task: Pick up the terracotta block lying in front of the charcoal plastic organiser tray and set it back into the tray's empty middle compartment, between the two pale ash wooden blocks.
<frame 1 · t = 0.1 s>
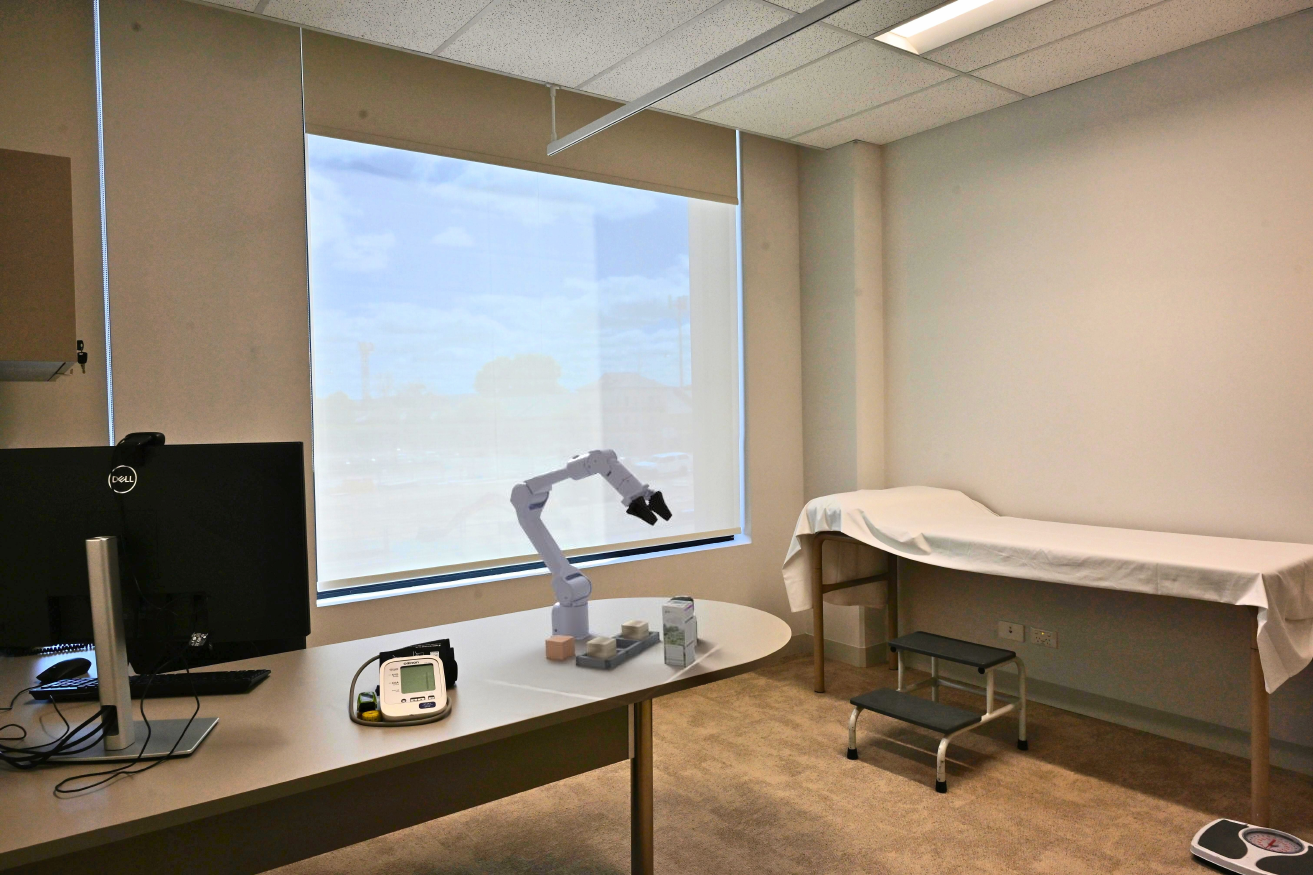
hand: (662, 520, 202), 32 cm above the table, tool tilted 50°, fingers open, 7 cm apart
terracotta block: (560, 658, 199), on the table
organiser tray: (619, 654, 200), on the table
medicine bottle: (683, 644, 206), on the table
ash block far: (635, 642, 207), point 1 cm above the table, touching organiser tray
ash block near: (602, 661, 193), point 1 cm above the table, touching organiser tray
syrup box: (679, 664, 191), on the table
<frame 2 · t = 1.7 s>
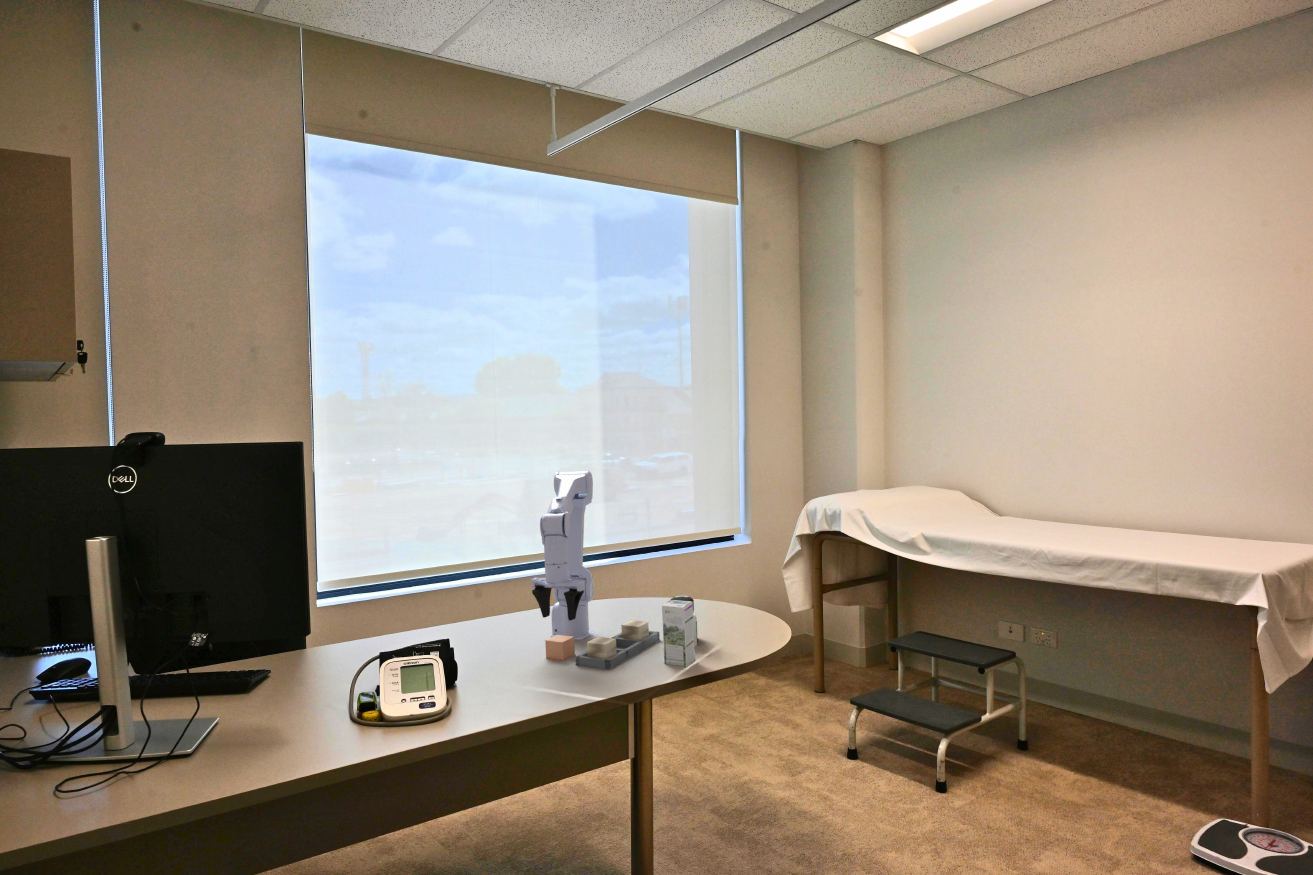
hand: (559, 617, 198), 10 cm above the table, tool pointing down, fingers open, 7 cm apart
nothing on the table moved.
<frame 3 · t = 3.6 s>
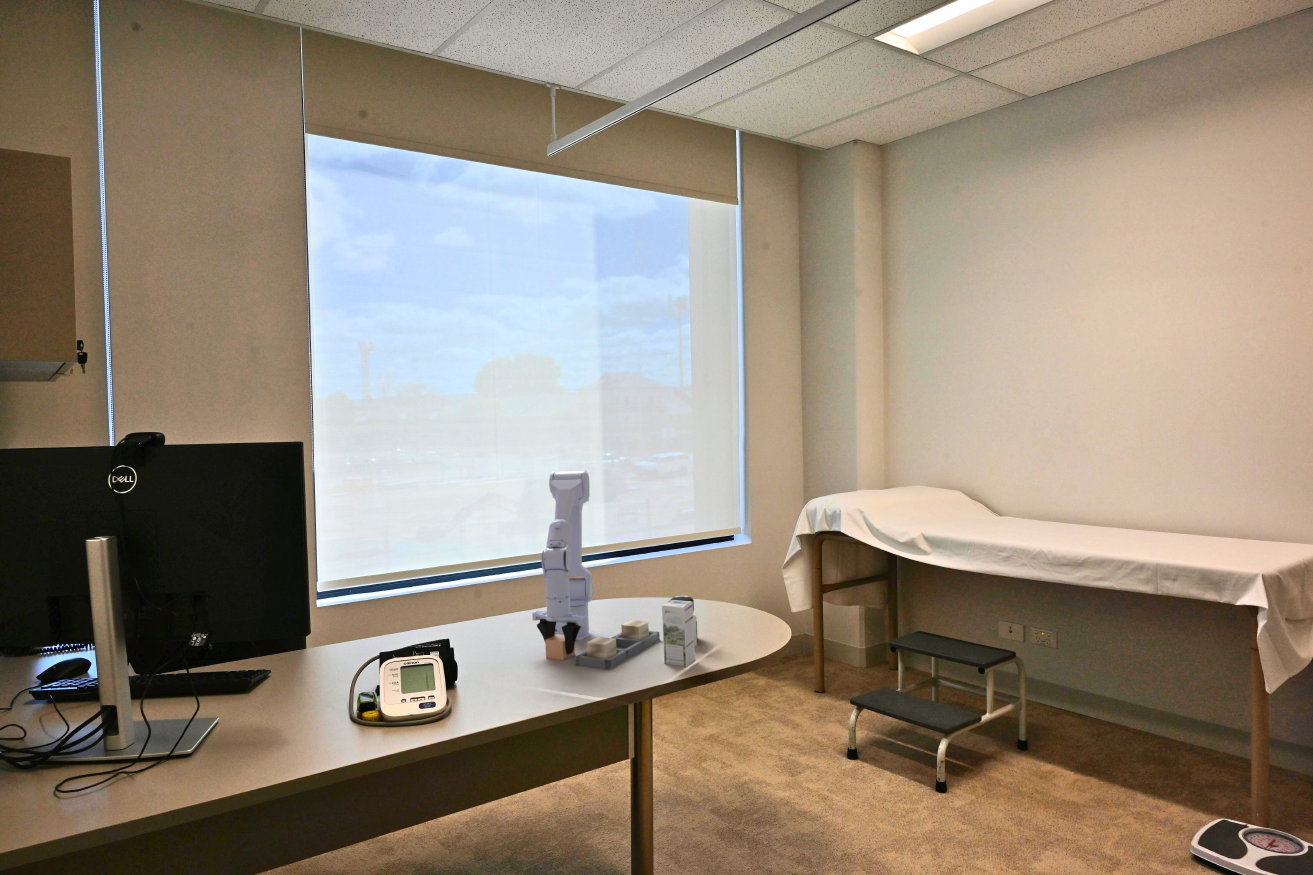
hand: (560, 651, 199), 2 cm above the table, tool pointing down, fingers closed on terracotta block, 5 cm apart
terracotta block: (560, 658, 199), on the table, touching gripper
everything else where it was.
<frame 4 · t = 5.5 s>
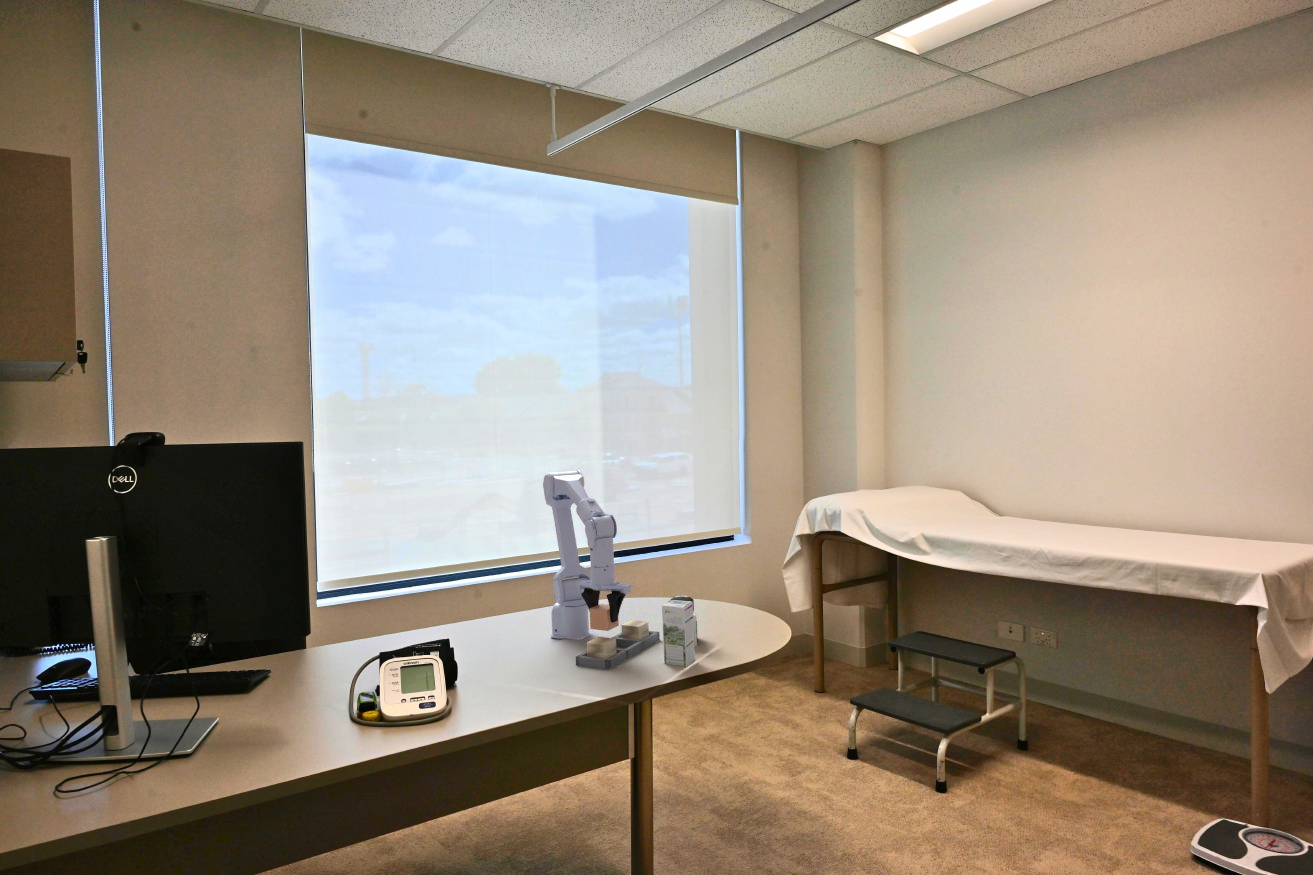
hand: (604, 620, 199), 9 cm above the table, tool pointing down, fingers closed on terracotta block, 5 cm apart
terracotta block: (604, 627, 199), point 7 cm above the table, touching gripper
everything else where it was.
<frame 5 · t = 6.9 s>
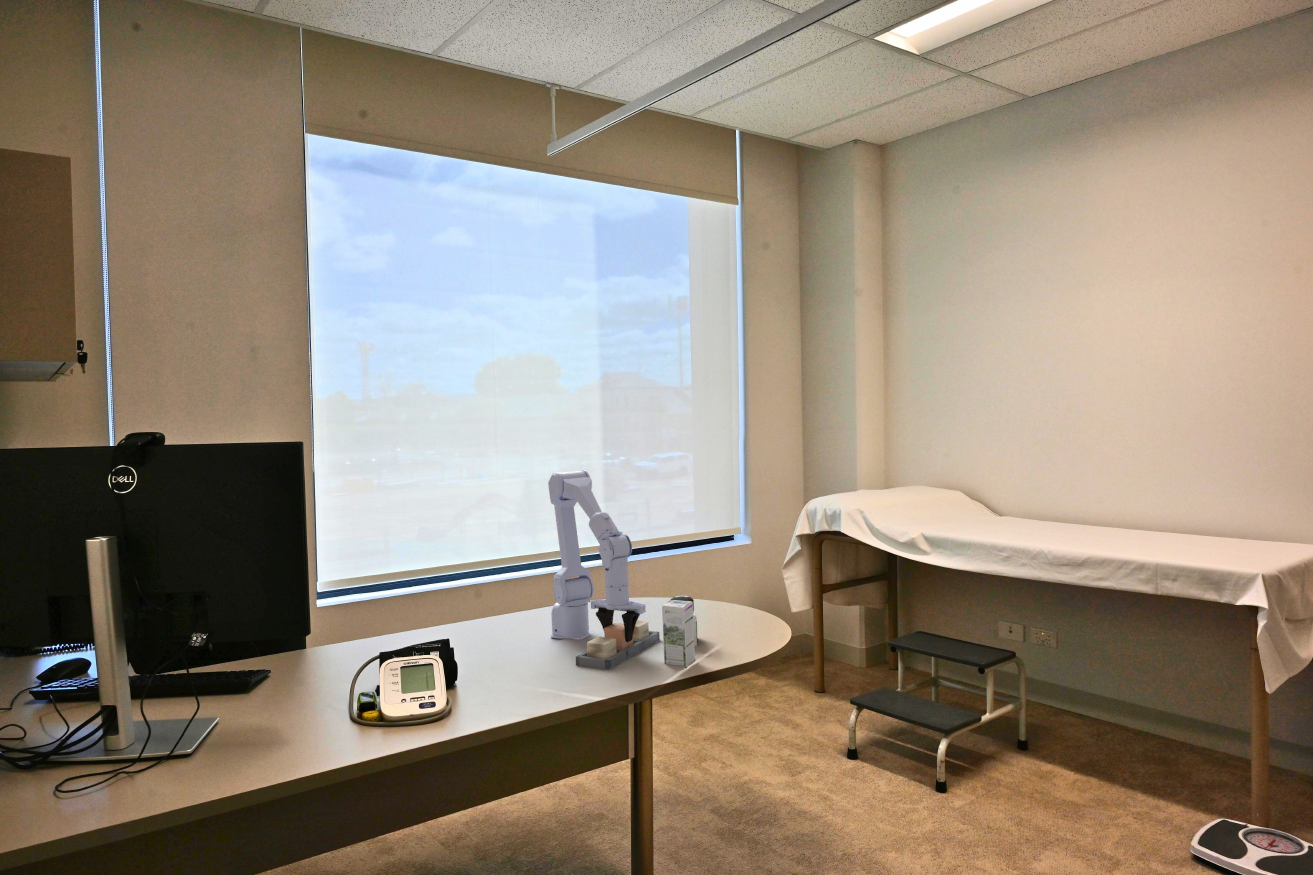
hand: (619, 639, 200), 4 cm above the table, tool pointing down, fingers closed on terracotta block, 5 cm apart
terracotta block: (619, 646, 200), point 2 cm above the table, touching gripper
everything else where it was.
when the fingers open (4 cm above the table, at t = 7.6 s): terracotta block drops 1 cm, resting on organiser tray.
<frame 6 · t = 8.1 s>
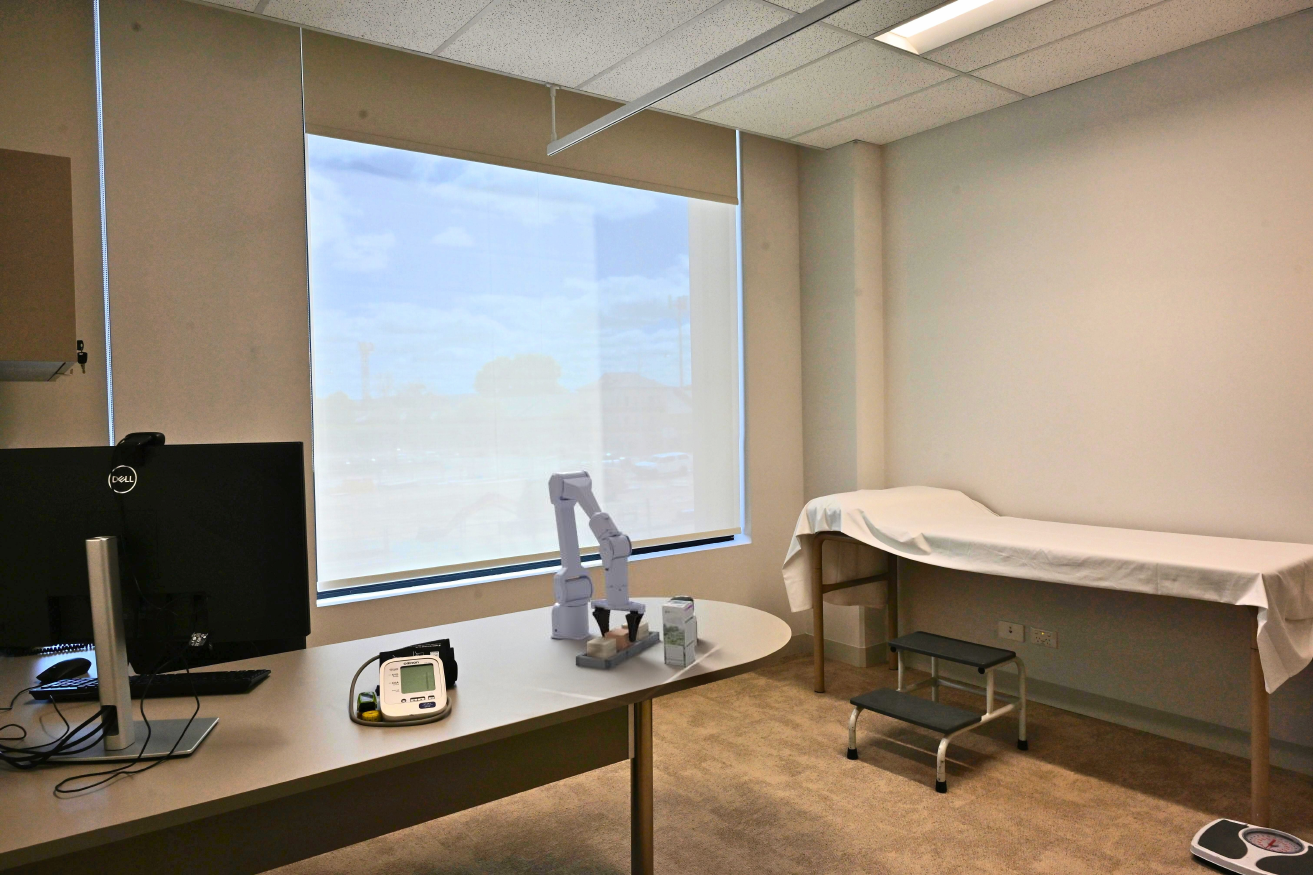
hand: (619, 639, 200), 4 cm above the table, tool pointing down, fingers open, 7 cm apart
terracotta block: (619, 651, 200), point 1 cm above the table, touching organiser tray
everything else where it was.
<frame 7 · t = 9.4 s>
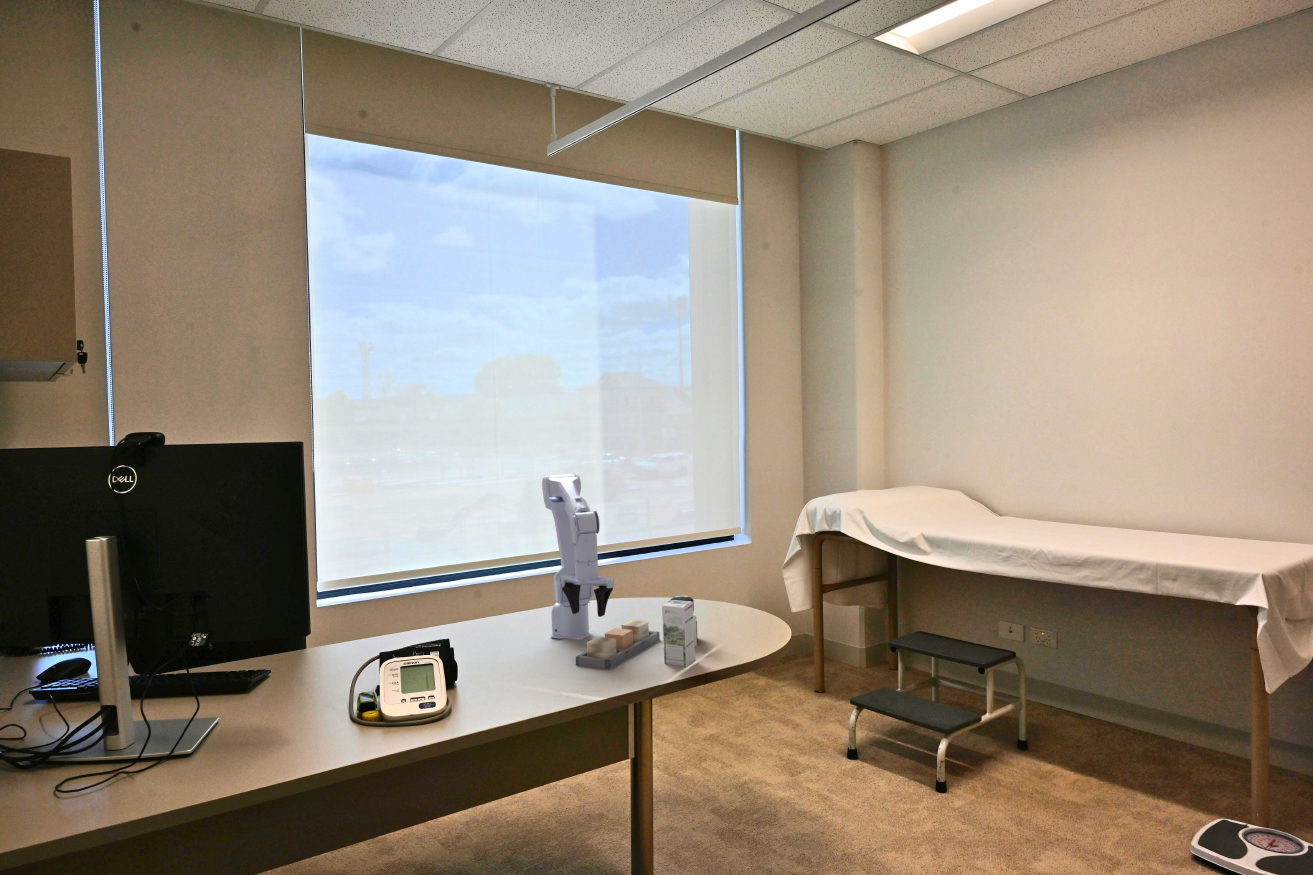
hand: (588, 614, 203), 9 cm above the table, tool pointing down, fingers open, 7 cm apart
nothing on the table moved.
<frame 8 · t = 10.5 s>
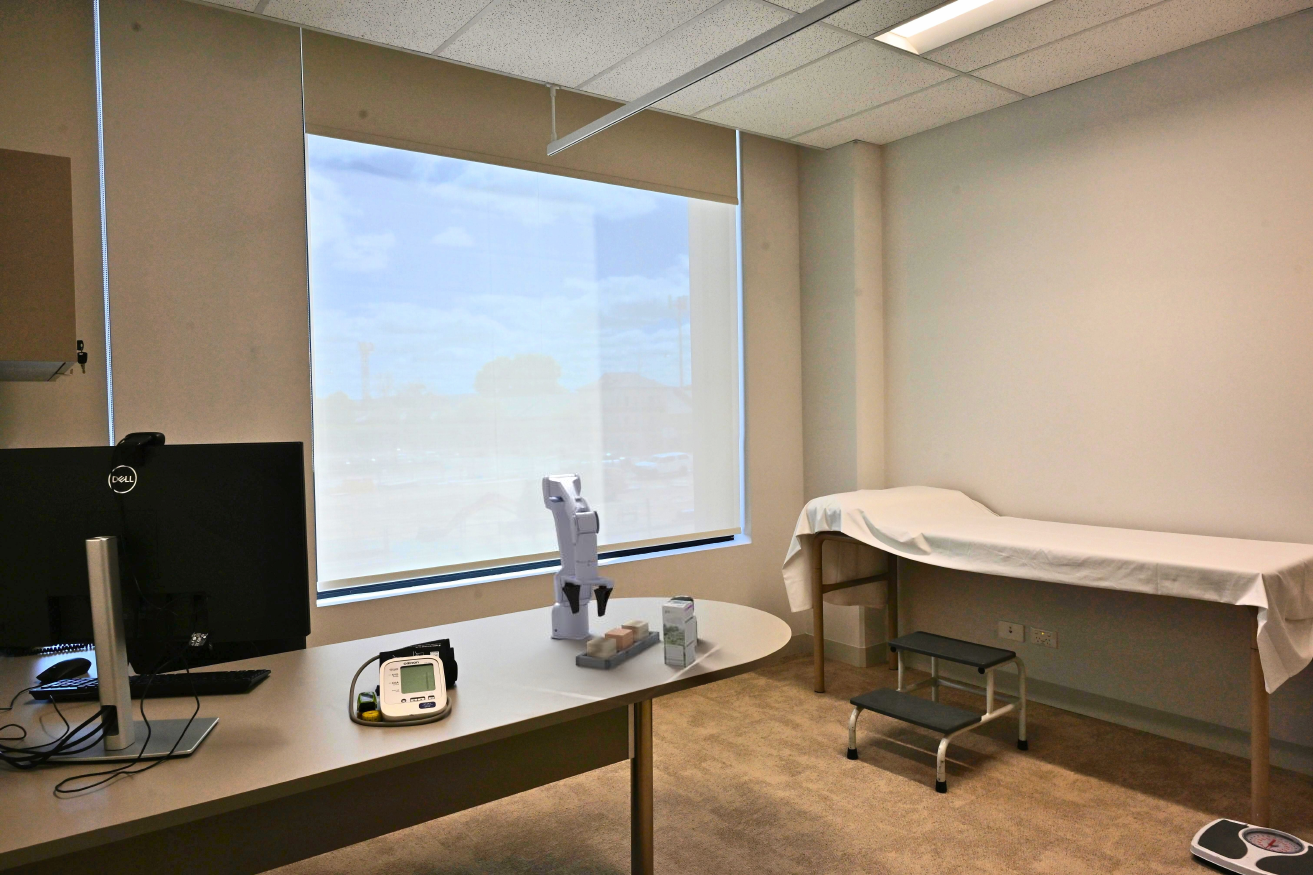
hand: (588, 614, 203), 9 cm above the table, tool pointing down, fingers open, 7 cm apart
nothing on the table moved.
at the end: terracotta block 0.1 cm off-centre on the organiser tray, point 0.6 cm above the organiser tray's base; terracotta block tilted 0°; the gripper is holding nothing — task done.
